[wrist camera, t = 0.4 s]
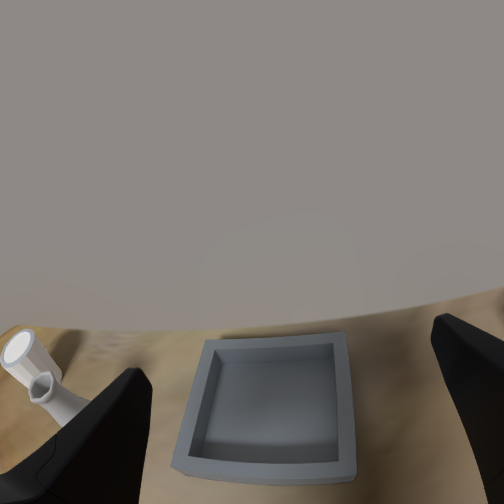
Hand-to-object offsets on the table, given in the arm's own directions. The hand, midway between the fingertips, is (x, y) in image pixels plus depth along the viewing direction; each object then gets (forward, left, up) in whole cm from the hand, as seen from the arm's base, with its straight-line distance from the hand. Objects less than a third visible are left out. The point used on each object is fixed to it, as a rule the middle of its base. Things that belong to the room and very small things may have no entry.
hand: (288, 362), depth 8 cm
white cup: (+6, +34, -17) cm, 38 cm away
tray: (+6, +4, -17) cm, 18 cm away
